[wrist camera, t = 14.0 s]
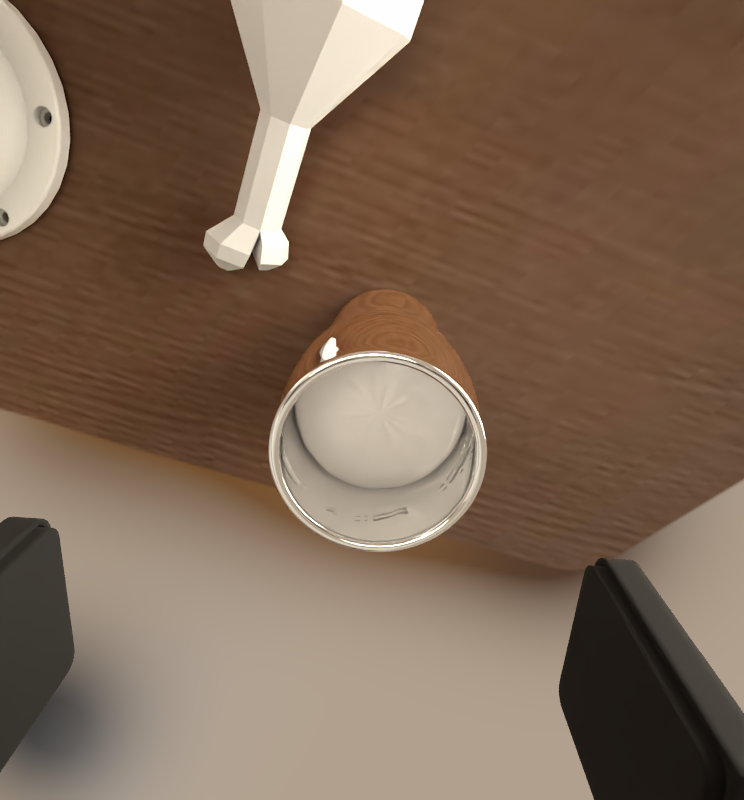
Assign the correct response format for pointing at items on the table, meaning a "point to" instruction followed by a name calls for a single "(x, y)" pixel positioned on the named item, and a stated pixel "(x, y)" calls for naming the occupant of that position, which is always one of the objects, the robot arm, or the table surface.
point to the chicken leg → (298, 102)
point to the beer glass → (378, 429)
